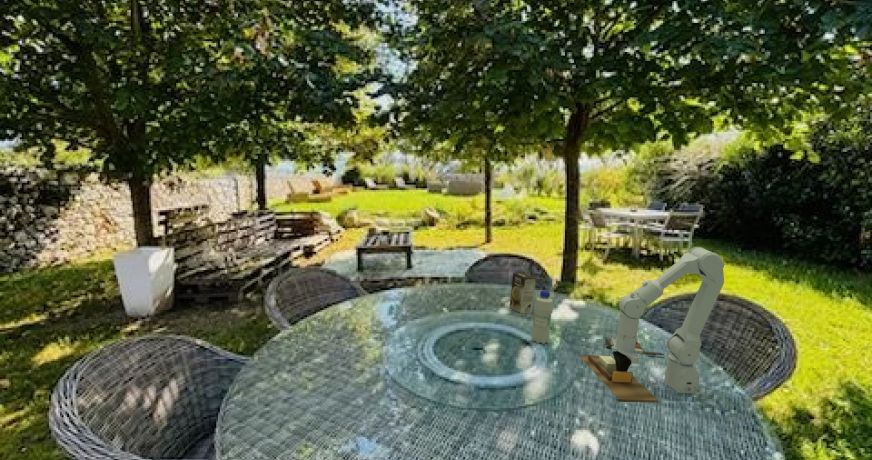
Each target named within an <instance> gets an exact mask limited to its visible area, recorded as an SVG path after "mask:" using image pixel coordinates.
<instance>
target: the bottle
mask: <svg viewBox="0 0 872 460" xmlns="http://www.w3.org/2000/svg"><path fill="white" fill-rule="evenodd" d="M539 293H540V294H539V296H538V297H536V299H535V302H534V305H533V307H534V309H533V310H534V317H533V323H532V324H533V326H532V331H531V341H532V343H533V344H535V342H536V344H540V343H541V344H542V345H545V344H547V343H548V342H549V339H550V329H551V328H550V327H551V319H552V314H553V310H554V301H553V299H552V298H550V296H551V294H550V291H549V290H546V289H543V290H541V291H540V292H539Z"/></svg>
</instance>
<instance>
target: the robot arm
mask: <svg viewBox="0 0 872 460" xmlns="http://www.w3.org/2000/svg"><path fill="white" fill-rule="evenodd" d="M725 265H726V264H725V262H724V260H723V259H722V257H721V256H720V255H719V254H718V253H716V252H712V251H710V250H708V249H706V248H704V247H701V246H694V247H692V248H691V249H690V250H689V251H687V252H686V253H683V254H682V256H681V257H680V258H679V259H678V261H676V262H675V263H674V264H673V265H672V266H671V267H669V268H667V270H666V271H664V272H663V273H662V274H661V275H660V276H659V277H658V278H656V279H655V280H653V279H648V280H644V281H643V282H642V283H641V284H642V285H641V286H639V287H637V288H636V290H634V291H631V292H630V293H629V294H628V295H624V296H623V297H621V298H620V301H619V302H618V308H619V310H620V311H619V317H618V324H617V331H616V332H617V333H616V337H615V338H616V339H615V338H610V339H611V345H614V346H612V349H611V350H612V355H613V356H612V357H613V358H614V359H615V363H616V371H618V372H627V371H628V370H629V369H630V367H631V365H632V364H637V365H638V364H640V359H641V358H640V356H639V354H637V353H636V350H635V345H636V341H637V338H638V331H639V329H638V328H639V324H640V318H641V316H643V315H644V313H645V309H646V308H648V307H649V306H650V305H652V304H653V303H654V302H656V301H657V300H658V299H659V298H660V297H662V296H664V291H665V288H667V287H669V286H670V285H672V284H674V283H675V282H676V281H677V280H679V279H681V278H683V277H684V276H685V275H689V274H692V275H693V274H695V275H696V274H698V276H699V277H700V279H701V283H700V286H699V287H698V290H697V292H696V295H695V296H694V299H693V300H692V303H691V306H690V308H689V310H688V311H687V314H686V315H685V319H684V320H683V323H682V325H681V326H680V327H678V328H677V329H675V330H674V333H673V334H672V335H671V336H669V338H668V339H667V341H666V347H667V349H668V350H669V354H668V355H667V356H668V358H667V362H666V368H665V376H664V384H665V385H666V386H668V387H670V388H671V389H673V390H674V391H675V392H676V393H677V394H694V395H695V396H700V393H699V392H698V388H699V382H700V373H699V371H698V370H697V369H696V367H695V363H697V362H698V360H699V358H700V354H701V353H700V349H701V347H702V340H701V333H702V331H703V330H704V327H705V325H706V322H707V321H708V319H709V317H710V314H711V312H712V310H713V308H714V306H715V303H716V302H717V299H718V298H719V294H721V293H720V292H721V290H722V289H723V286H724V284H725V273H724V268H725ZM628 372H629V371H628Z"/></svg>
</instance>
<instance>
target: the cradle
mask: <svg viewBox="0 0 872 460" xmlns="http://www.w3.org/2000/svg"><path fill="white" fill-rule="evenodd" d="M578 356H579V358H580V359H581V360H582V361H583V362H584V363H585V364H586V365H587V367H589V369H590V370H591V371H592V372H593V373H594V374H595V375H596V376H597V377H598V379H599V380H601V382H603V384H604V385H605V387H607V388H608V390H610V391H611V393H613V395H614V396H615V397H616V398H617V399H616V400H617V401H618V402H619V403H654V404H655V403H659V399H658V398H657V397H656V396H655V395H654V394H652V392H650V391H649V389H647V388H646V387H645V386H644V385H643V384H642V383H641V382H640V381H639V380H638V379H636V378H635V377H634V376H632V382H613V381H612V375H613V373H609V372H608V371H607V370H606V369H605V368H604V367H603V366H602V365H601V364H600V363H599V362H598V361H599V356H600V355H592V354H588V355H586V354H585V355H583V354H582V355H578ZM611 357H612V358H613V359H614V360H615V358H614V356H612V355H611ZM627 372H629V371H627Z"/></svg>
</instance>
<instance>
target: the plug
mask: <svg viewBox="0 0 872 460" xmlns="http://www.w3.org/2000/svg"><path fill="white" fill-rule="evenodd" d="M598 356H599V361H598V362H599V363H600V364H601V365H602V366H603V367H604V368H605V369H606V370H607V371H608V372H609V373H613V371H616V363H615V360H614V359H615V358H614V357H613V356H612V355H611V356H612V357H613V358H614V359H613V358H612V357H611V356H610V355H598Z"/></svg>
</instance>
